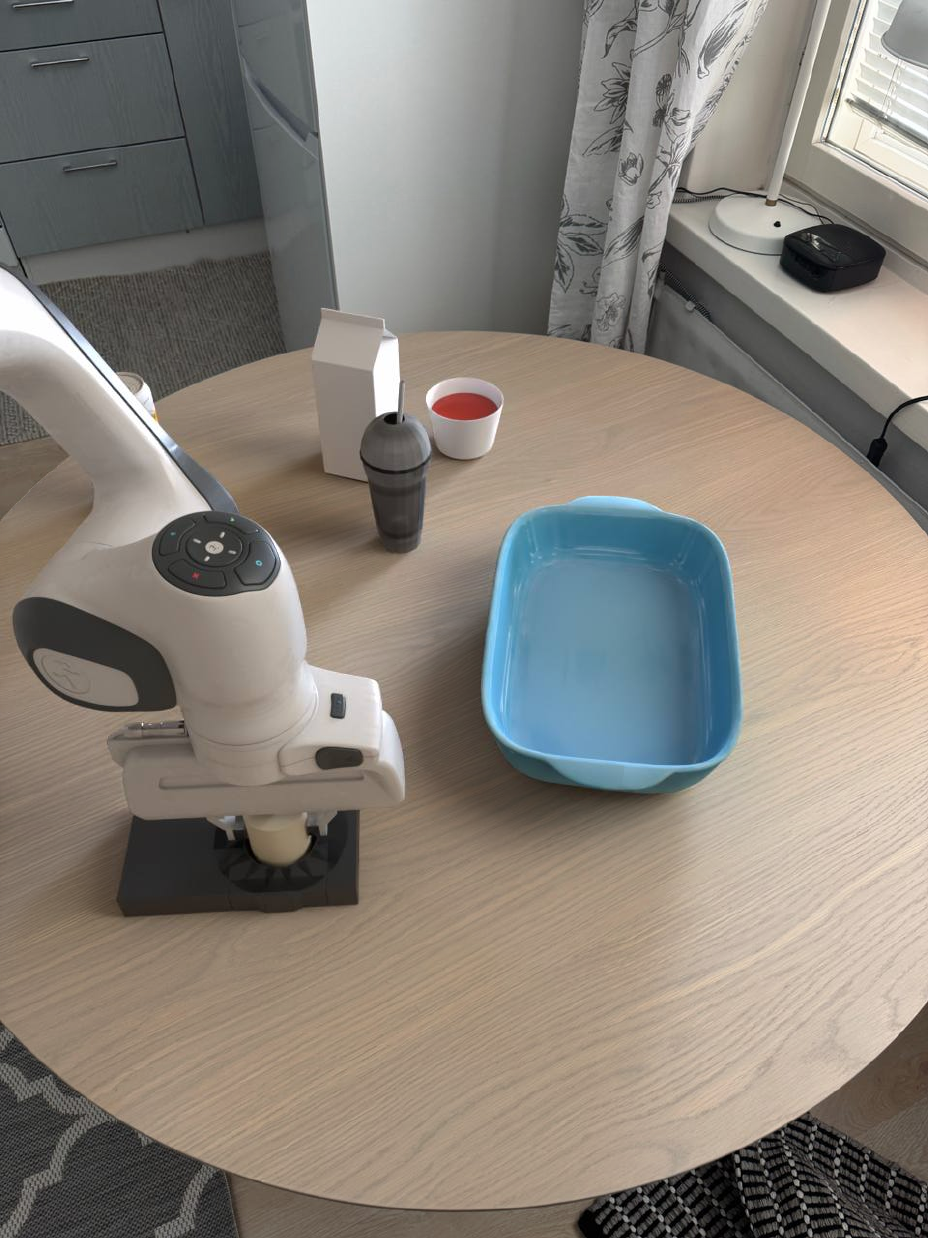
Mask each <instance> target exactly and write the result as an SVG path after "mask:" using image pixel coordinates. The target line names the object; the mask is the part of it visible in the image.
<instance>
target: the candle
mask: <svg viewBox="0 0 928 1238" xmlns="http://www.w3.org/2000/svg"><path fill="white" fill-rule="evenodd" d="M425 404H426V409H427V412H428V417H429V421H430V426H431V430H432V434H433V439H434V443H435V445H436V447H437V449H438V451H439V452H440V453H442V454H444V455H445V456H446V457H449V458H451V459H456V460H473V459H477V458H480V457H483V456H484V455H486V454H488V453H489V451H491V449H492V448H493V445H494V442H495V437H496V434H497V430H498V427H499V422H500V418H501V414H502V410H503V406H504V395H503V392H502V391H501V390H500V389H499V388H498V387H497V386H496V385H494V384H493V383H491V382H489V381H486V380H483V379H479V378H476V377H454V378H449V379H445V380H443V381H440V382H438V383H436V384H435V385H433V386H432V387H431V388H430V389H429V390H428V391H427V393H426V396H425Z"/></svg>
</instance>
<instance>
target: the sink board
mask: <svg viewBox="0 0 928 1238" xmlns="http://www.w3.org/2000/svg"><path fill="white" fill-rule="evenodd" d="M360 815H361V810H343V811H337V814H336V815H335V817H334V818H333V819H332V820H331V821H330V822H329V823H328V824H327V835H325V836H321V835H320V836H316V839H315V842H314V845H312V847H311V849H310V851H309V852H308V854H307V855H306V856H305V857H304V858H303V859H302V860H301V861H299V862H297V863H294V864H292V865H289V866H287V867H275V868H271V867H268V866H265V865H262V864H261V863H260V862H258V861H257V860H256V859H254V858H253V857H252V856H251V849H252V848H251V844H250V840H249V837H248V839H240V840H229V839H228V836H227V833H226V830H223V829H221V828H220V827H218V826H216V825H214V824H213V823H211V822H209V821H208V820H207V819H206V817H201V818H181V819H161V820H144V819H141V818H139V817H138V816H136V815H134V814H132V821H131V825H130V826H131V827H130V831H129V835H128V840H127V846H126V850H125V855H124V859H123V865H122V870H121V875H120V880H119V886H118V891H117V896H116V903H117V905H118V908H119V909H120V911H121V914H122V915H123V917H124V918H128V917H129V918H130V917H145V916H161V915H162V916H164V915H165V916H166V915H182V914H183V915H184V914H202V913H218V912H222V913H223V912H240V911H243V912H244V911H260V912H263V913H266V914H271V913H290V912H297V911H298V910H301V909H303V908H311V907H312V908H313V907H314V908H317V907H328V906H329V907H334V906H348V905H349V906H351V905H359V901H360V900H359V899H360V898H359V897H360V894H359V893H360V891H359V890H360V829H361V827H360V825H361V824H360V822H361V821H360V818H361V817H360Z"/></svg>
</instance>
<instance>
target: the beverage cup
mask: <svg viewBox="0 0 928 1238" xmlns="http://www.w3.org/2000/svg"><path fill="white" fill-rule="evenodd" d="M405 385H406V381H405V380H401V379H400V382H399V396H398V410H397V411H392V412H386V413H383V414H381V415H379V416H377V417H376V418H374V420H373V421H372V422H371V423H370V424H369V425H368V426H367V428H366V429H365V432H364V434H363V437H362V440H361V448H360V452H359V453H360V459H361V461H362V463H363V467H364V470H365V473H366V475H367V478H368V482H367V483H368V487H369V493H370V498H371V503H372V504H371V505H372V510H373V515H374V521H375V526H376V532H377V534H378V539H379V544H380V545H381V547H382V548H383V549H385V550H386V551H387V552H390V553H393V554H396V553H397V554H403V553H409V552H411V551H414V550H416V549H417V548H418V546H420V544H421V542H422V534H423V529H424V517H425V506H426V505H425V504H426V503H425V502H426V492H427V491H426V490H427V478H428V472H429V468H430V464H431V458H432V455H433V448H432V445H431V442H430V438H429V434H428V432H427V430H426V428H425V426H424V425H423V424H422V423H421V422H420V421H419V420H418V419H417V418H416V417H414V416H412V415H411V414H409V413H407V412H404V401H405Z"/></svg>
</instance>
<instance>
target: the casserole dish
mask: <svg viewBox="0 0 928 1238" xmlns="http://www.w3.org/2000/svg"><path fill="white" fill-rule="evenodd" d="M734 593H735V592H734V585H733V577H732V570H731V565H730V560H729V556H728V553H727V551H726V548H725V546H724V545H723V542H722V541H721V539H720V538H719V537H718V536H717V534H716V533H715V532H714V531H713V530H711V529H710V528H709V527H707V526H706V525H705V524H703V523H701V521H700V522H699V521H697V520H695V519H693V518H690V517H687V516H683V515H680V514H676V513H672V512H667V511H664V510H662V509H660V508H658V507H657V506H654V505H652V504H651V503H648V502H646V501H644V500H641V499H636V498H631V497H626V496H625V497H624V496H616V495H615V496H614V495H587V496H586V495H585V496H581V497H578V498H576V499H573V500H571V501H569V502H567V503H563V504H554V505H553V504H552V505H551V504H550V505H544V506H539V507H538V506H537V507H536V508H533V509H529V510H527V511H525V512H524V513H522V514H520V515H519V516H518V517H516V518H515V519H514V520H513V521H512V522H511V524H510V525H509V526H508V528H507V529H506V531H505V533H504V535H503V537H502V540H501V543H500V546H499V550H498V554H497V558H496V562H495V569H494V574H493V582H492V588H491V594H490V595H491V596H490V604H489V611H488V617H487V623H486V632H485V641H484V647H483V648H484V650H483V655H482V656H483V657H482V664H481V665H482V666H481V678H480V680H481V681H480V699H481V701H480V702H481V708H482V713H483V717H484V720H485V723H486V726H487V727H488V729H489V731H490V733H491V734H492V736H493V738H494V739H493V740H495V743H496V745H497V747H498V748H499V751H500V752H501V754H502V755H503V757H504V758H505V760H507V762H508V763H509V764H510V765H511V766H512V767H513V768H514V769H516V770H517V771H518V772H519V773H521V774H523V775H525V776H527V777H529V778H531V779H535V780H537V781H541V782H544V783H552V784H558V785H563V786H564V785H565V786H572V787H579V788H587V789H594V790H599V791H607V792H608V791H610V792H623V793H635V794H669V793H675V792H676V793H677V792H679V791H683V790H686V789H688V788H690V787H693V786H695V785H697V784H699V783H700V782H702V781H703V780H704V779H706V778H707V777H708V776H709V775H710V774H711V773H712V772H713V771H714V770H716V768H718V766H719V765H721V764H722V763H723V762H724V761H725V760H726V759H727V758H728V757H729V756H730V755H731V754H732V752H733V750H734V749H735V746H736V745H737V743H738V740H739V737H740V735H741V730H742V725H743V713H744V712H743V711H744V700H743V699H744V698H743V697H744V696H743V695H744V694H743V681H742V680H743V679H742V678H743V677H742V666H741V658H740V646H739V636H738V625H737V614H736V603H735V594H734Z"/></svg>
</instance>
